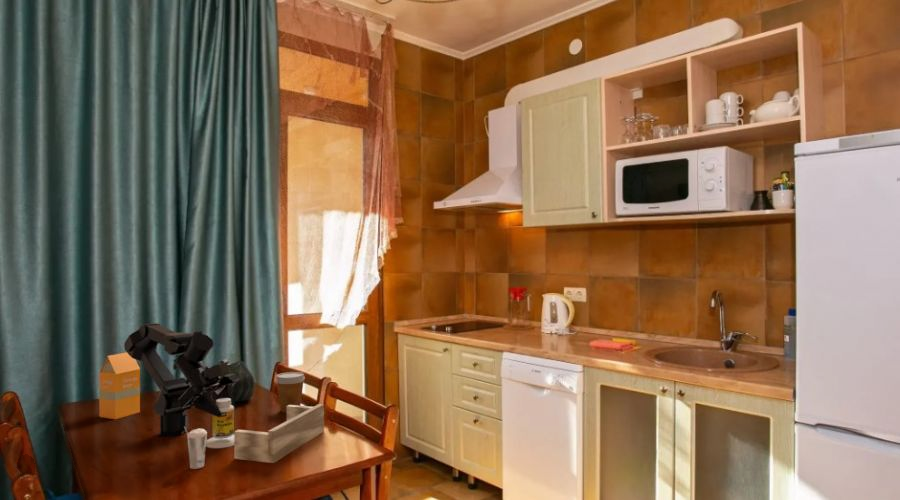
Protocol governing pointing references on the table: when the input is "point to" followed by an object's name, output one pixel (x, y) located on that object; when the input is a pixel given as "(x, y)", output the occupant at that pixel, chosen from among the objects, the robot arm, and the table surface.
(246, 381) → the squash
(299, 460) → the table surface
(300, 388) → the disposable coffee cup
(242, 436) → the wooden u-shaped barrier
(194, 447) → the milkshake
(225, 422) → the supplement bottle
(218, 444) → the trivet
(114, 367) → the orange juice
